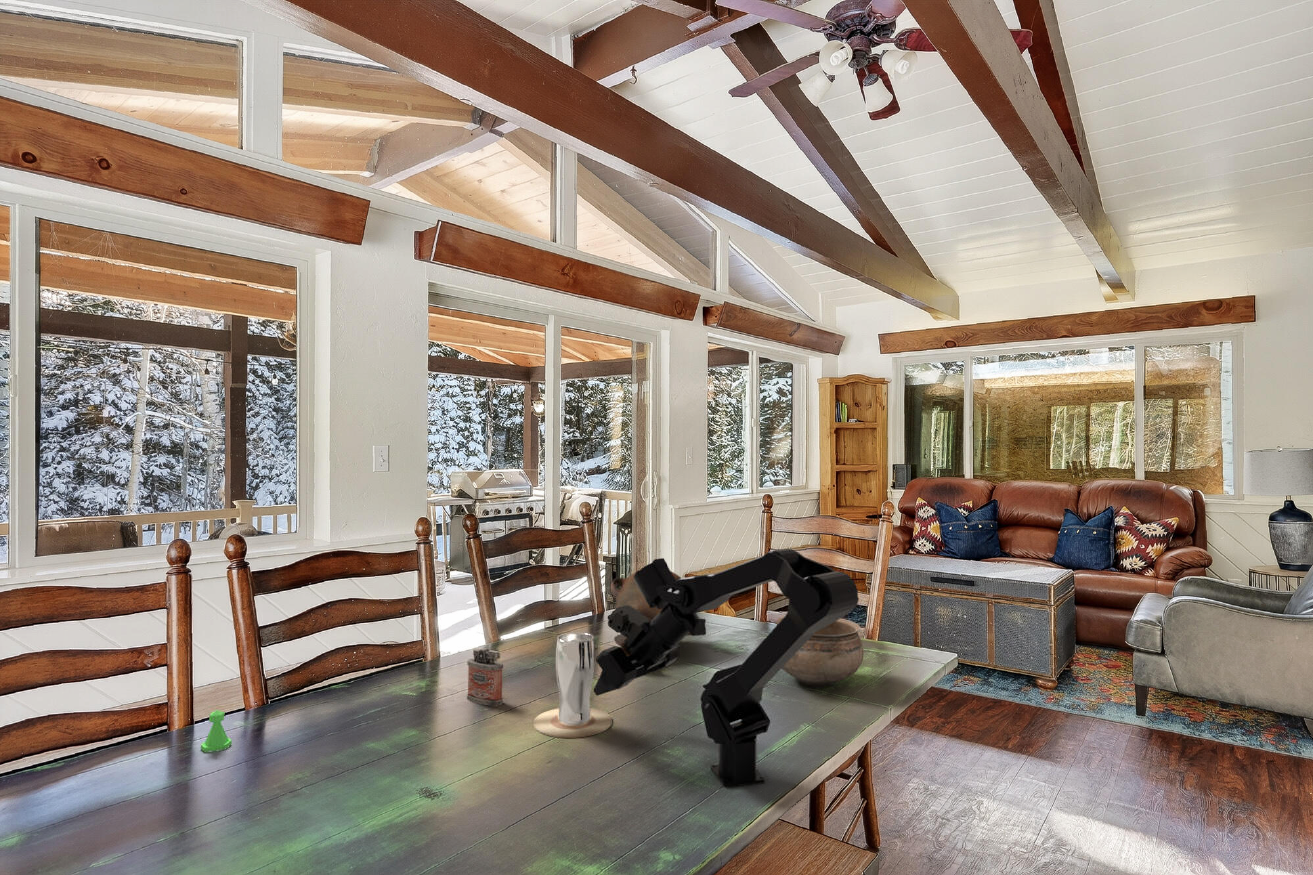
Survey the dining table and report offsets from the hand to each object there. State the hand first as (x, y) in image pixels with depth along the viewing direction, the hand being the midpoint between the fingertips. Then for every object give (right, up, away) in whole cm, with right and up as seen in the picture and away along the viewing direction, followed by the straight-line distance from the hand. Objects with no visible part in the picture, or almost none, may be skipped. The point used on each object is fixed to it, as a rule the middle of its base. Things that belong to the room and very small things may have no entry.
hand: (610, 685), depth 127 cm
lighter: (-25, -8, +15) cm, 30 cm away
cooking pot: (+42, -9, +28) cm, 51 cm away
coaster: (-7, -8, +4) cm, 11 cm away
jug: (+6, -9, +48) cm, 49 cm away
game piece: (-64, -7, -8) cm, 65 cm away
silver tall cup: (-7, -8, +4) cm, 11 cm away
